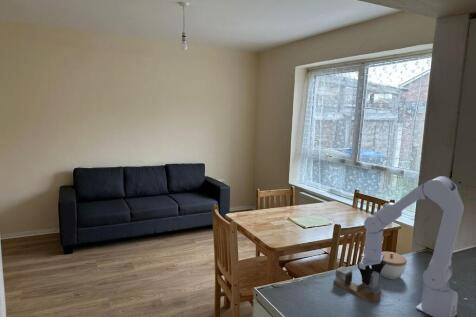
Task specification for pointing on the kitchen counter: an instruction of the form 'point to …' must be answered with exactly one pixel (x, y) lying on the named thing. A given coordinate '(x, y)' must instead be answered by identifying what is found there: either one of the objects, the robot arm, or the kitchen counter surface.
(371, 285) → the block
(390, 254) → the lidded jar
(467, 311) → the kitchen counter surface
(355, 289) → the rail
